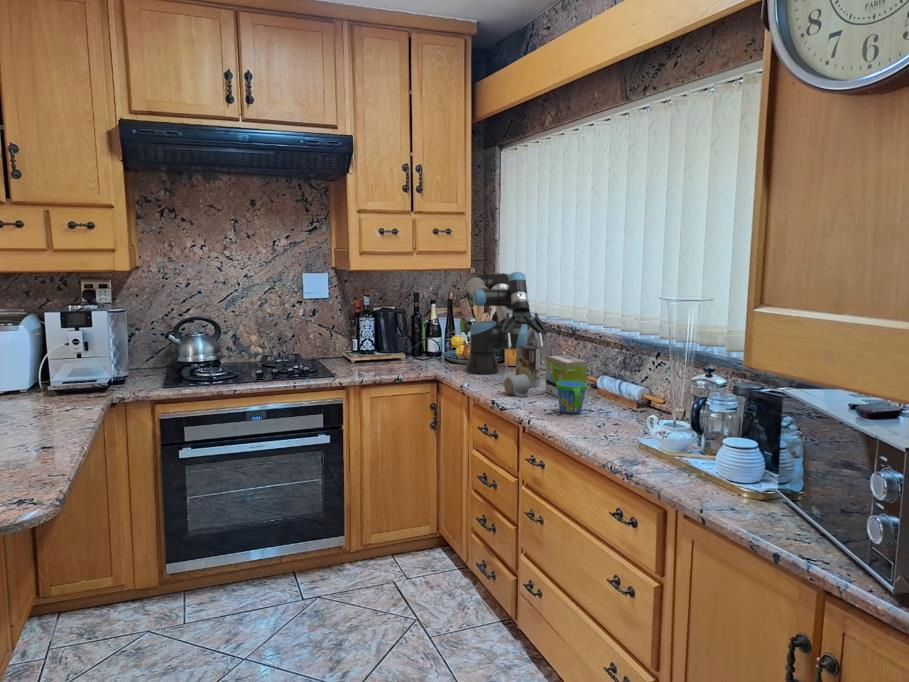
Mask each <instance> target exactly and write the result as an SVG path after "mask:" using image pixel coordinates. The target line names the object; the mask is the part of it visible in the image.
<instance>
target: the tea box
mask: <svg viewBox="0 0 909 682" xmlns="http://www.w3.org/2000/svg"><path fill="white" fill-rule="evenodd" d="M545 363H546V367H545V392H546V393H549V394H551V395H553V396H555V397H557V398H558V390H557V387H556V383H557V382H559V381H579V382H583V383H586V384H587V364H588V363H587V361H586V360H583V359H580V358H577V357H574V356H572V355H571V356H570V355H569V354H566V355H552V356H551V355H550V356H548V355H547V356H546V361H545ZM586 392H587V391H585V395H584V399H585V398H586V394H587V393H586Z"/></svg>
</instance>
